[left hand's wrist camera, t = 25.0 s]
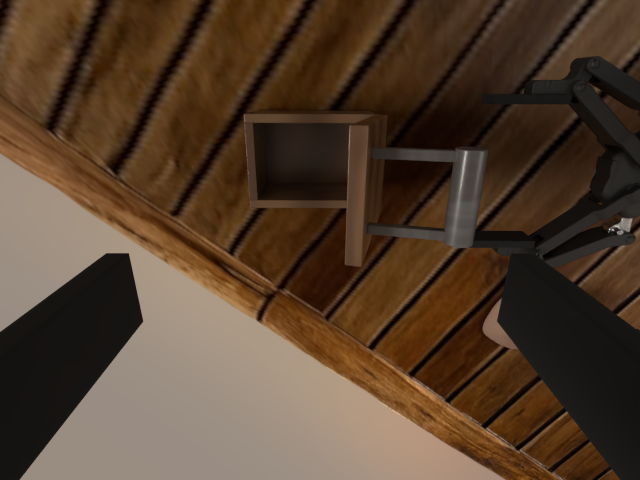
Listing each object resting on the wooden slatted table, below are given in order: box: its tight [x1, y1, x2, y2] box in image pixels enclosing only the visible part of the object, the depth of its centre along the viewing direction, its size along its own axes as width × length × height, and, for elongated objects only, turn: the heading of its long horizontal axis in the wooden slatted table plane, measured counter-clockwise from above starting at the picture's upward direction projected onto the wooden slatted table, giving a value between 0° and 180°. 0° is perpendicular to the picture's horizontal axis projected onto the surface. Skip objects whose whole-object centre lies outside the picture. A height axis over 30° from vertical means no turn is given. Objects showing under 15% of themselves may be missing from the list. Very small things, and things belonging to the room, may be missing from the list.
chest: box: [244, 110, 378, 208], centre depth 40 cm, size 13×9×9 cm
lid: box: [345, 114, 489, 267], centre depth 29 cm, size 14×9×8 cm
